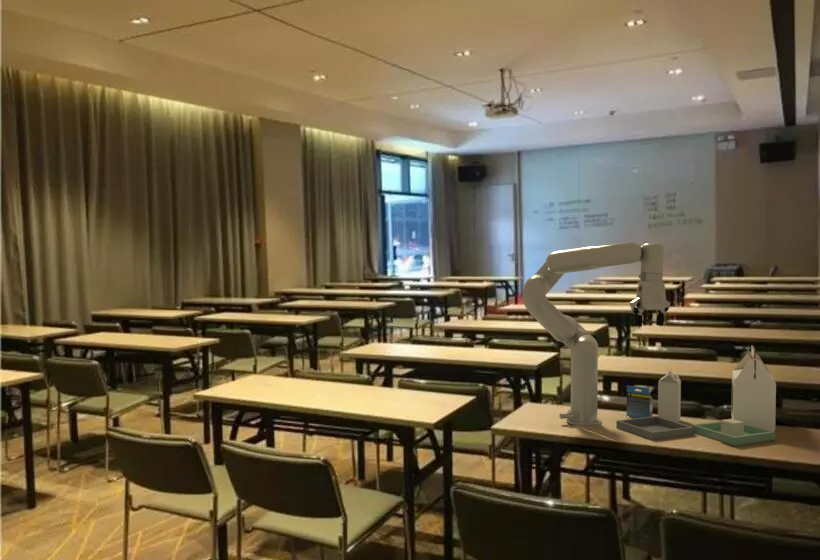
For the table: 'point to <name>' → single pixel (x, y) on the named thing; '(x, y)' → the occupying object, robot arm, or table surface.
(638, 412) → the label tape cartridge
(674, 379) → the milk carton
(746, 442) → the sage green bin
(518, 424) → the table surface
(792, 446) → the table surface
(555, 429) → the table surface
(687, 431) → the charcoal bin
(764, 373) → the gable box
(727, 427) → the beige cube
